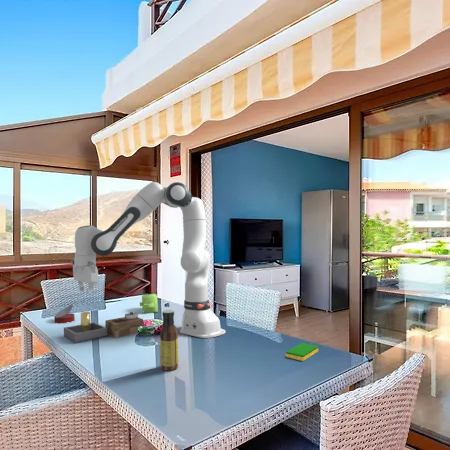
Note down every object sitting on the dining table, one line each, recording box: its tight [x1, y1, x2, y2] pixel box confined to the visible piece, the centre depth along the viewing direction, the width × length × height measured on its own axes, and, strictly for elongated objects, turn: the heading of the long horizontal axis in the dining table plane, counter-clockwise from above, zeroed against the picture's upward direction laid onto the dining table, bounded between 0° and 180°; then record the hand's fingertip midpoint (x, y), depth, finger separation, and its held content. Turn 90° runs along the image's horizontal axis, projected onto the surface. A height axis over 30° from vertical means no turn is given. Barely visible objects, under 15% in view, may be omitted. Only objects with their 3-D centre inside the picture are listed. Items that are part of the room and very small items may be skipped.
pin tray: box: [63, 321, 108, 345], centre depth 163 cm, size 14×14×4 cm
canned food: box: [53, 304, 76, 324], centre depth 191 cm, size 11×10×10 cm
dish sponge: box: [285, 342, 319, 362], centre depth 140 cm, size 7×14×2 cm, turn 142°
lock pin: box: [80, 311, 91, 332], centre depth 163 cm, size 4×4×10 cm
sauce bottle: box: [159, 309, 180, 371], centre depth 126 cm, size 6×6×20 cm
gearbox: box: [139, 293, 159, 314], centre depth 215 cm, size 18×10×10 cm, turn 16°
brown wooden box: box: [104, 311, 144, 339], centre depth 169 cm, size 10×14×9 cm
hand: (85, 291), depth 163 cm, fingers open, 8 cm apart
